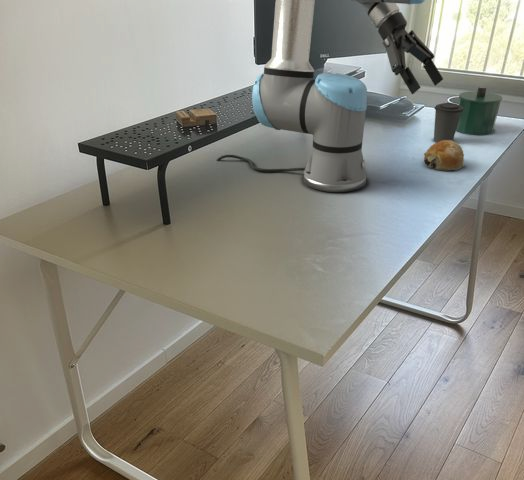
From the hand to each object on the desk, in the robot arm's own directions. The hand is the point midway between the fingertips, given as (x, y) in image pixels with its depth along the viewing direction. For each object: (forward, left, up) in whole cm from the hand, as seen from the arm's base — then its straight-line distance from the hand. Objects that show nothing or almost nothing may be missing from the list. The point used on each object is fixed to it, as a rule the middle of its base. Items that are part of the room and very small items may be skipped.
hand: (428, 86), depth 157 cm
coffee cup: (+7, -1, -14) cm, 16 cm away
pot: (+12, +15, -14) cm, 23 cm away
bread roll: (+14, -21, -14) cm, 29 cm away
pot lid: (+12, +15, -5) cm, 20 cm away
